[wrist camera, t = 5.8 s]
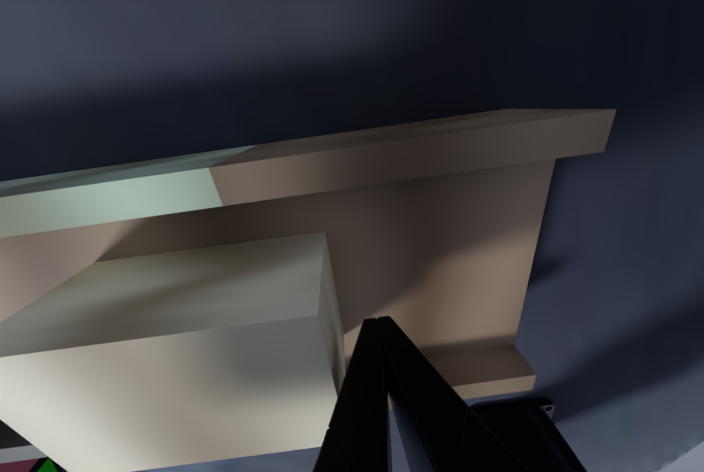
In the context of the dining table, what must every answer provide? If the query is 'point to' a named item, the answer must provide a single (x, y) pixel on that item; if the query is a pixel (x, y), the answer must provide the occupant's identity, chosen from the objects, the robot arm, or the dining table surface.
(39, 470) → the puzzle cube
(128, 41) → the dining table surface
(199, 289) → the birch block
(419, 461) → the robot arm
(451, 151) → the trap lane
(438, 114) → the dining table surface
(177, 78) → the dining table surface
